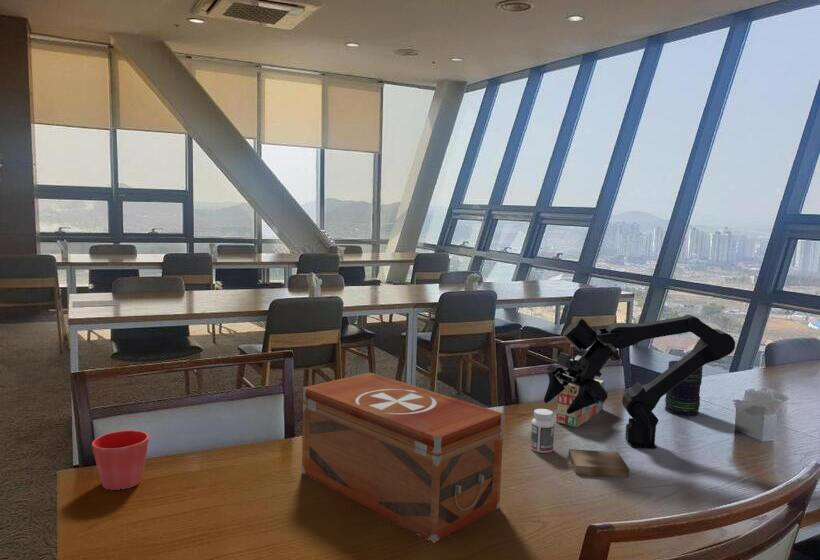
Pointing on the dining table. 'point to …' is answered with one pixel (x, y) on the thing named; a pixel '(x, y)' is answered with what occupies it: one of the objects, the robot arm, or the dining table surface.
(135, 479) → the flower pot
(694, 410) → the storage jar
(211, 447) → the dining table surface
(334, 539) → the dining table surface
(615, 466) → the wooden board
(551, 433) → the pill bottle
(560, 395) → the stack of blocks
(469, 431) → the wooden box
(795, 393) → the dining table surface
